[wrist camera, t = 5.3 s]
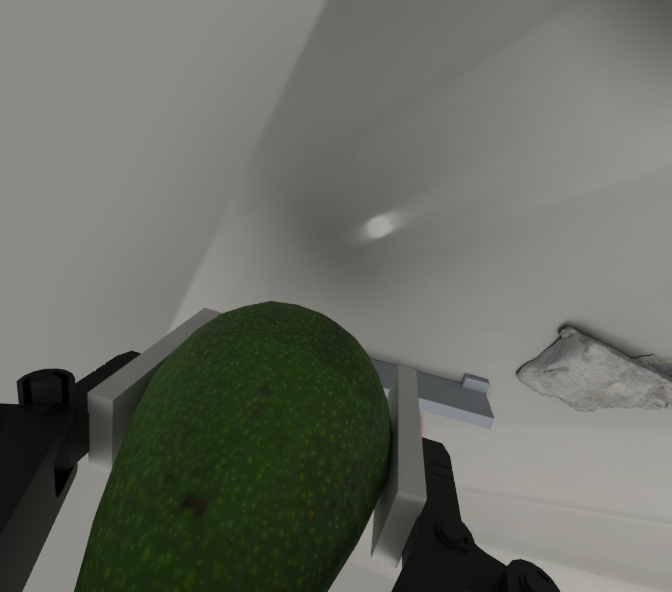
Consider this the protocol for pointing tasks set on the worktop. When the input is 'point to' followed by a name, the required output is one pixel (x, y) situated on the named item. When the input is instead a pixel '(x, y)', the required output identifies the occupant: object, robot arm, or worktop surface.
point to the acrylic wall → (446, 395)
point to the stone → (598, 375)
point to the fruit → (245, 461)
